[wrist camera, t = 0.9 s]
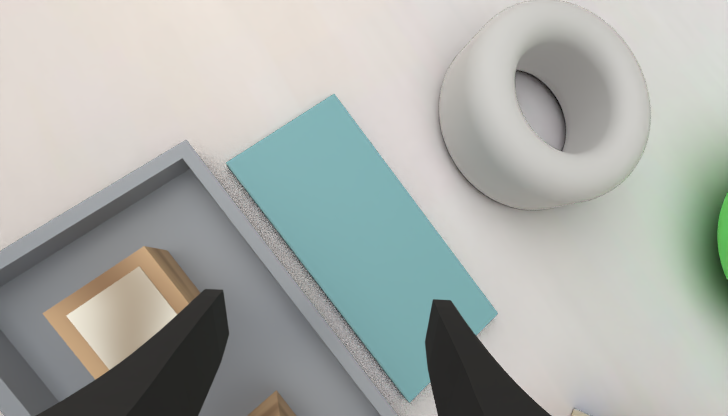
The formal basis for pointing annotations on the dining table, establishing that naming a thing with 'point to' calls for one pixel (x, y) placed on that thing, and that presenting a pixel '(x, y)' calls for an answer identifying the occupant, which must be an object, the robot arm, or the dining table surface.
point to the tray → (206, 271)
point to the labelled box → (122, 308)
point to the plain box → (273, 407)
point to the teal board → (359, 237)
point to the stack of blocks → (579, 413)
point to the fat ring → (573, 91)
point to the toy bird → (723, 236)
